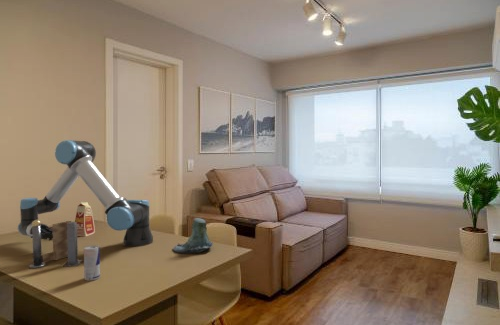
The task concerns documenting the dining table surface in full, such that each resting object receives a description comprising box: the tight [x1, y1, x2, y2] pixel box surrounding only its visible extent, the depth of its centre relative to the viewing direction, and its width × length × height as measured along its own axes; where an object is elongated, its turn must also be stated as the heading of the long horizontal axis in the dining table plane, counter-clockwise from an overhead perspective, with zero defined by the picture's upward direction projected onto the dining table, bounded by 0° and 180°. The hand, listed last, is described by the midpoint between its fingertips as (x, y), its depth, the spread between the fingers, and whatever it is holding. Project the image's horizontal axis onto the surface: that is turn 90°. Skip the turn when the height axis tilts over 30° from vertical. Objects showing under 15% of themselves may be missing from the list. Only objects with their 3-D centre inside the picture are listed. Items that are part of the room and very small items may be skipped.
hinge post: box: [28, 219, 47, 269], centre depth 141 cm, size 6×6×20 cm
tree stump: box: [172, 217, 214, 254], centre depth 165 cm, size 18×20×18 cm
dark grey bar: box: [62, 221, 84, 268], centre depth 144 cm, size 6×6×18 cm
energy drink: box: [83, 245, 101, 282], centre depth 127 cm, size 5×5×12 cm
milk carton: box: [74, 201, 96, 237], centre depth 198 cm, size 9×9×20 cm
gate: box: [42, 220, 72, 263], centre depth 150 cm, size 14×2×16 cm, turn 157°
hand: (61, 237), depth 154 cm, fingers closed
